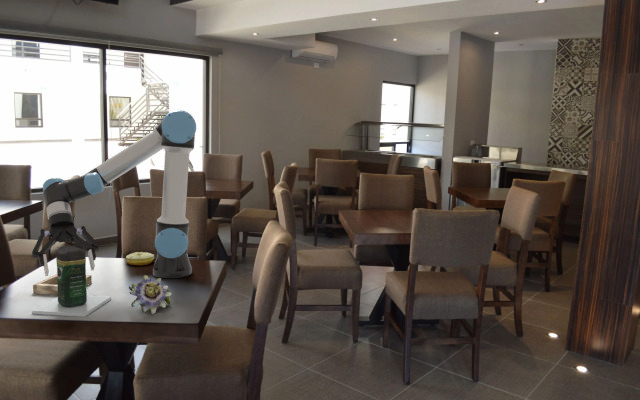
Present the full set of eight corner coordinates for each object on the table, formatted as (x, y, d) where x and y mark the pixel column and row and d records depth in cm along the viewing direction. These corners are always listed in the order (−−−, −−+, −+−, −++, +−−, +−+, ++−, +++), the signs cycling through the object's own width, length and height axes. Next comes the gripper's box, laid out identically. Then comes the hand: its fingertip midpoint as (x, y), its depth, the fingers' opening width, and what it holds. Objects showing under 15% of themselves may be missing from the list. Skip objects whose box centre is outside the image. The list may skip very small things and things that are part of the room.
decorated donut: (153, 259, 233) (153, 250, 232) (154, 265, 222) (154, 256, 222) (126, 260, 229) (126, 251, 229) (126, 266, 218) (126, 257, 218)
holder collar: (91, 282, 194) (91, 275, 193) (69, 295, 179) (69, 286, 179) (58, 281, 195) (58, 273, 194) (33, 293, 180) (32, 284, 180)
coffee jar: (90, 304, 167) (88, 248, 165) (64, 309, 162) (61, 251, 159) (80, 297, 174) (78, 242, 172) (54, 301, 169) (52, 245, 166)
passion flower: (153, 332, 164) (133, 306, 156) (134, 315, 172) (114, 289, 164) (184, 304, 170) (166, 277, 162) (164, 289, 178) (146, 263, 169)
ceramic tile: (111, 299, 176) (111, 296, 176) (84, 316, 159) (84, 313, 159) (63, 296, 177) (63, 294, 177) (31, 313, 160) (31, 310, 160)
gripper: (97, 221, 187) (109, 271, 177) (17, 227, 173) (25, 282, 162) (100, 209, 182) (112, 260, 172) (19, 214, 168) (27, 270, 158)
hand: (70, 271), depth 167 cm, fingers open, 13 cm apart
